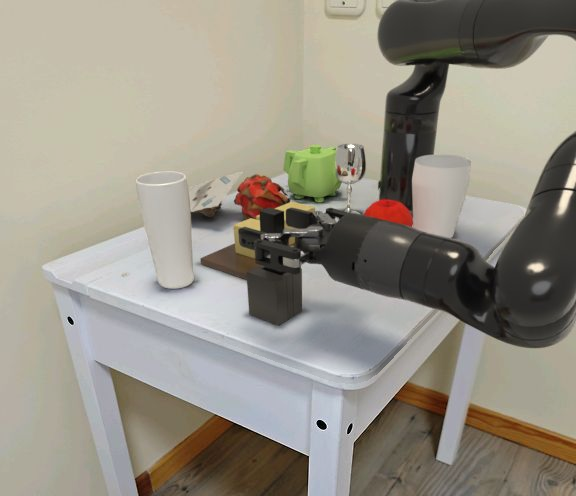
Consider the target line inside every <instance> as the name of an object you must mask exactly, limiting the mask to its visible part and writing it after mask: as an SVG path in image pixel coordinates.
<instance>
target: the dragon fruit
mask: <svg viewBox="0 0 576 496" xmlns="http://www.w3.org/2000/svg"><path fill="white" fill-rule="evenodd" d="M236 191H237V193H236V195H235V198H234V200H233V203H234V205H236V206H240V207H241V213H242V215H243V217H244V219H245V220H247V219H250V218H253V219H256V216H257V215H259V211H261V210H264V209H266V208H273V209H275V208H277V207H280V206H282V205H285V204H287V203H290V202H291V198H290V197H289V195H288V194H287V192H285V189H284V187H283V186H282V185H280V184H278V183H277V182H273V180H272V179H271V178H270V177H268V176H266V175H260V174H256V173H255V174H253V175H251V176H247V177H245V179H244V180H243V181H242V182H241V183H240V184H239V185H238V186H237V188H236Z"/></svg>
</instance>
